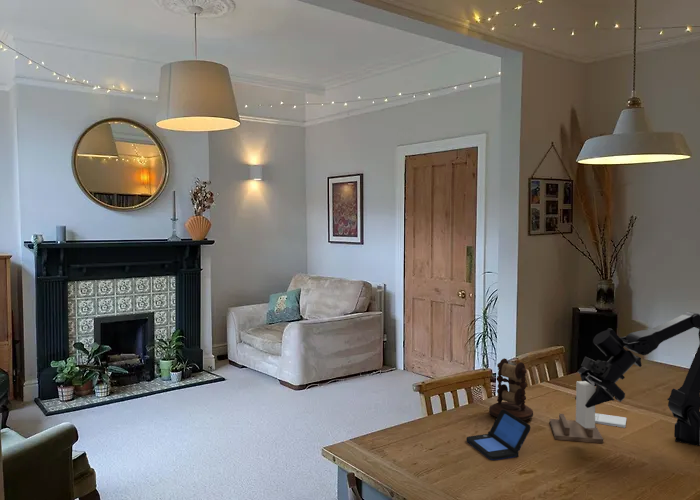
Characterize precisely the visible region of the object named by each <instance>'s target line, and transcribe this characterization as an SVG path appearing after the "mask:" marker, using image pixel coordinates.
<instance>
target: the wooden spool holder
mask: <svg viewBox="0 0 700 500" xmlns="http://www.w3.org/2000/svg"><path fill="white" fill-rule="evenodd" d="M496 365H497V370H498V372H497V376H496V381H497V383H498V384H497V388H498V389H496V392H497V400H496V401H497V402H495V403H494V404H491V405H490V406H489V407H488V409H489V410H488V412H489V415H490V417H496V418H497V417H498V415H499V413H500V411H501V410H503V409H504V410H506V411H508V412H509V413H511V414H513V415H514V416H516V417H517V418H519V419H521V420H522V421H525V420H530V419H531V418H533V416H534V410H533V409H532V408H531V407H529V406H528V405H526V404H525V403H526V400H527V397H526V389H527V387H528V383H527V382H526V376H527V374H526V373H527V369H526V366H525V364H524V362H521V361H520V362H518V363H517V364H516V365H515V364H510V363H509V360H508V359H507V358H502V359H501V360H500V362H499V363H497V364H496ZM503 383H504V384H503ZM505 383H507V384H508V386H507V384H505Z"/></svg>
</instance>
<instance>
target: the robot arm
mask: <svg viewBox="0 0 700 500" xmlns="http://www.w3.org/2000/svg"><path fill="white" fill-rule="evenodd" d="M693 328H696V329H698V340H699V342H700V314H699V313H696V312H692V311H686V312H684V313H682V314H681V315H678V316H676V317H675V318H672V319H670V320H668V321H666V322H664V323H661V324H660V325H657V326H655V327H653V328H649V329H642V330H638V331H633V332H630V333H628V334H627V335H626V336H621V337H620V336H619V334H617V333H616V331H615V330H614V329H612V328H609V327H608V328H607V329H606V330H603V331H600V332H599V333H597V334H596V335H595V336H594V337H593V339H592V343H593V344H594V345H595V346H596V347H597V348H598V349H599V350H600V352H602V353H603V354H604V355H605V357H610V358H609V359H608V360H607V361H606V360H600V359H597V360H594V359H592V358H589V357H587V356H584V358H583V361H581V362H582V363H581V364H580V366H581V367H580V368H579V369H578V370H577V373H578V374H579V377H580V379H581V380H580V381H586V382H588V383H590V384H592V385H593V386H595V387H596V391H595V393H594V394H593V395H592V396H591V398H590V399H589V400H588V402H587V403H586V404H585V406H586V407H587V408H589V407H592V406H595V407H596V406H597V405H600V404H605V403H608V402H611V401H613V402H614V401H615V400H616V401H618V402H620V403H622V401H623V400H625V398H626V392H624V391H623V390H622V388H620V387H619V385H618V384H616V383H617V382H618V381H619V380H624V379H625V376H624V375H625V373H627V371H629V370H630V368H632V367H633V365H635V366H637V367H639V368H641V367H642V365H643V364H642V358H641V357H639V356H638V355H641V356H646V355H650V354H651V353H652V352H654V351H655V350H656V349H658V347H659V346H660V344H662V343H663V342H666V341H668V340H669V339H672V338H673V337H676V336H678V335H680V334H682V333H685V332H687V331H689V330H691V329H693ZM626 349H627V350H626ZM634 353H635V354H638V355H635V354H634ZM669 395H670V396H669V397H668V398H667V402H668V404H667V407H668V408H669V410H670V412H671V413H672V416H673V417H674V418H675V419H677V420H676V422H675V424H674V438H675V439H674V442H678V443H684V444H688V445H692V446H697V447H700V343H699V345H698V348H697V349H696V352H695V355H694V356H693V359H692V361H691V364H690V367H689V369H688V371H687V374H686V375H685V378H684V381H683V383H682V385H681V386H680V387H679V388H678V389H676V388H672V389H671V391H670V394H669ZM574 399H575V400H576V396H575V397H574Z"/></svg>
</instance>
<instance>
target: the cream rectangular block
mask: <svg viewBox="0 0 700 500" xmlns="http://www.w3.org/2000/svg"><path fill="white" fill-rule="evenodd" d="M575 384H576V385H575V386H576V387H575V391H576V392H575V397H576V399H575V421H576V422H578V423H579V424H580V425H582V426H583V427H584V428H595V425H596V423H595V413H596V405H595V406H592V407H589V408H587V407H586V406H585V404H586V403H587V402H588V400H589V399H590V398H591V396H592V395H593V394H594V393H595V391H596V386H593V385H592V384H590V383H588V382H586V381H582V380H579V381H578V380H577V381H576V383H575Z"/></svg>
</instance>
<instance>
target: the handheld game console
mask: <svg viewBox="0 0 700 500" xmlns="http://www.w3.org/2000/svg"><path fill="white" fill-rule="evenodd" d="M530 431H531V425H530V424H529V423H527V422H526V421H525V420H521V419H519V418H517V417H516V416H514V415H513V414H511V413H509V412H508V411H506V410H504V409H503V410H501V411H500V413H499V415H498V417H496V419H495V421H494V423H493V424H492V426H491V427H490V430H489V431H488V432H487V433H485V434H484V433H483V434H477V435H476V434H475V435H472V436H471V435H470V436H467V437H466V442H467V443H468V444H470V445H471V446H472V447H473V448H474V449H476V450H477V451H479V452H480V453H481V454H482V455H483V456H485V457H486V458H487V459H488V460H490V461H498V460H504V459H511V458H519V455H520V454H519V453H520V450H521V448H522V446H523V444H524V443H525V440H526V439H527V437H528V435H529V433H530Z"/></svg>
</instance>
